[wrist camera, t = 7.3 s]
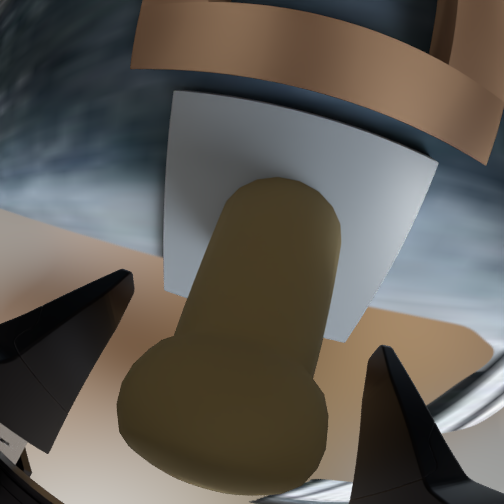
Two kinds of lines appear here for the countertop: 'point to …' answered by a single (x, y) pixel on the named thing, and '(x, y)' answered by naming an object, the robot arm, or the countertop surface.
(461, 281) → the countertop surface
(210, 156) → the mat
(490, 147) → the pocket frame
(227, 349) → the cork
